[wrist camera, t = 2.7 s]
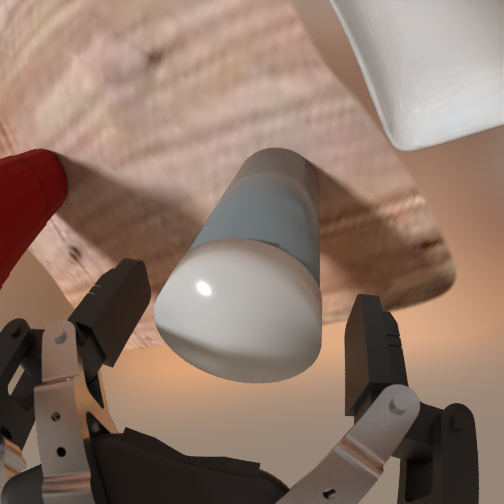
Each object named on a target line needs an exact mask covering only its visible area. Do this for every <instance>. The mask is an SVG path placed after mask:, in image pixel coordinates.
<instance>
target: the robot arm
mask: <svg viewBox="0 0 504 504" xmlns="http://www.w3.org/2000/svg"><path fill="white" fill-rule="evenodd" d="M150 298H151V289H150V285H149V281H148V276H147V272H146V267H145V264H144V262H143V261H141V260H135V259H129V258H124V259H123V260H122V261H121V262H120V263H119V264H118V266H117V267H116V268H115V269H113V268H112V269H111V270H109V271H108V272H106V273H105V274H103V275H102V276H101V277H100V278H99V280H98V281H97V282H96V283H95V286H93V287H92V288H91V290H90V291H89V294H88V293H87V295H86V296H85V297H84V299H83V300H82V301H81V302H80V304H79V305H78V306H77V308H76V309H75V310H74V312H73V313H72V314H71V316H70V317H69V318H68V320H60V321H56V322H54V323H52V324H50V325H49V326H48V327H47V328H46V330H43V329H31V328H30V327H29V325H28V323H27V322H26V321H25V320H24V319H21V318H19V319H14V320H12V321H10V322H9V323H8V324H7V325H6V326H5V327H4V328H3V330H2V331H1V333H0V501H1V504H358V503H359V502H360V500H361V499H362V498H363V497H364V496H365V495H366V493H367V492H368V491H369V490H370V489H371V488H372V486H373V485H374V484H375V483H376V481H377V480H378V479H379V477H380V476H381V474H382V472H383V466H384V465H385V463H386V461H387V460H388V459H389V457H390V456H393V457H396V458H400V478H399V489H398V500H397V504H478V501H479V471H478V451H477V439H476V429H475V421H474V417H473V414H472V412H471V411H470V410H469V409H468V408H467V407H466V406H465V405H463V404H459V403H454V404H451V405H449V406H448V407H446V408H445V409H444V410H442V409H439V408H436V407H433V406H429V405H426V404H424V403H422V402H420V401H419V399H418V397H417V395H416V393H415V392H414V391H413V390H412V389H410V388H409V386H408V382H407V374H406V368H405V362H404V356H403V350H402V348H401V346H402V344H401V339H400V338H399V336H400V334H399V330H398V324H397V322H396V320H395V319H394V317H393V316H392V314H391V313H390V312H385V311H382V308H381V303H380V298H379V297H378V296H373V295H364V294H358V295H357V297H356V300H355V303H354V305H353V308H352V311H351V313H350V316H349V319H348V321H347V324H346V329H345V416H354V426H353V427H352V428H351V429H350V430H349V431H348V433H347V434H346V435H345V436H344V437H343V438H342V439H341V440H340V441H339V442H338V443H337V445H336V446H335V447H334V448H333V449H332V450H331V451H330V452H329V453H328V454H327V455H326V456H325V457H324V458H323V459H322V460H321V461H320V462H319V463H318V464H317V465H316V466H315V467H314V468H313V469H312V470H311V471H310V472H308V473H307V474H306V475H305V476H304V477H303V478H302V479H301V480H300V481H299V482H297V483H296V484H295V485H294V486H293V487H292V488H291V489H289V488H288V487H287V486H286V485H285V484H284V483H283V482H282V481H281V480H279V479H278V478H276V477H275V476H273V475H271V474H269V473H268V472H266V471H263V470H261V469H259V467H260V463H256V462H250V461H244V460H238V459H233V458H228V457H196V456H186V455H183V454H182V453H180V452H178V451H176V450H175V449H173V448H171V447H169V446H168V445H166V444H165V443H163V442H161V441H160V440H158V439H156V438H154V437H151V436H149V435H146V434H143V433H140V432H137V431H134V430H132V429H129V428H127V427H126V428H125V430H124V432H123V433H118V431H117V428H116V426H115V424H114V422H113V420H112V418H111V416H110V413H109V410H108V405H107V400H106V396H105V391H104V387H103V381H102V375H101V372H100V370H99V369H100V368H101V366H102V364H104V365H107V366H110V367H113V366H114V364H115V362H116V361H117V359H118V357H119V355H120V353H121V351H122V350H123V348H124V346H125V344H126V343H127V341H128V339H129V337H130V336H131V334H132V332H133V330H134V329H135V327H136V325H137V323H138V322H139V320H140V318H141V317H142V315H143V313H144V312H145V310H146V308H147V306H148V305H149V302H150ZM19 365H21V366H22V368H23V369H24V372H23V374H22V376H21V378H20V379H19V381H18V383H17V385H16V387H15V389H14V390H13V392H12V394H11V395H9V393H8V384H9V382H10V380H11V379H12V377H13V375H14V373H15V372H16V370H17V368H18V366H19ZM35 420H36V430H37V439H38V447H39V453H40V459H41V464H40V465H38V466H35V467H33V468H31V469H29V470H27V471H24V472H22V473H21V470H24V469H25V468H26V461H25V459H24V458H23V457H22V450H23V447H24V445H25V442H26V440H27V438H28V435H29V433H30V431H31V429H32V426H33V424H34V422H35Z"/></svg>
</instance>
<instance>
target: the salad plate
mask: <svg viewBox="0 0 504 504" xmlns="http://www.w3.org/2000/svg"><path fill="white" fill-rule="evenodd" d="M328 1H329V2H330V4H331V6H332V7H333V9H334V11H335V13H336V15H337V17H338V19H339V21H340V23H341V25H342V27H343V29H344V31H345V33H346V35H347V38H348V40H349V42H350V44H351V47H352V49H353V51H354V54H355V56H356V59H357V61H358V64H359V66H360V69H361V71H362V74H363V76H364V79H365V82H366V85H367V87H368V90H369V92H370V95H371V97H372V100H373V102H374V105H375V107H376V110H377V113H378V115H379V118H380V121H381V123H382V126H383V128H384V130H385V133H386V135H387V137H388V139H389V141H390V142H391V143H392V145H393V146H394V147H395V148H396V149H397V150H399V151H416V150H421V149H425V148H429V147H433V146H436V145H440V144H444V143H447V142H451V141H454V140H457V139H460V138H463V137H467V136H470V135H473V134H476V133H479V132H483V131H486V130H489V129H492V128H495V127H499V126H502V125H504V0H328Z"/></svg>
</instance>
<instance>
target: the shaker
mask: <svg viewBox="0 0 504 504" xmlns="http://www.w3.org/2000/svg"><path fill="white" fill-rule="evenodd" d="M154 320H155V324H156V327H157V329H158V332H159V333H160V335H161V337H162V338H163V340H164V341H165V342H166V344H167V345H168V346H169V347H170V348H171V349H172V350H173V351H174V352H175V353H176V354H177V355H178V356H180V357H181V358H183V359H184V360H185V361H187V362H188V363H190V364H191V365H193V366H195V367H196V368H198V369H200V370H202V371H205V372H207V373H209V374H212V375H215V376H217V377H221V378H224V379H228V380H232V381H237V382H244V383H271V382H277V381H282V380H286V379H289V378H292V377H294V376H297V375H299V374H301V373H302V372H304V371H305V370H307V369H308V368H309V367H310V366H311V365H312V364H313V363H314V362H315V360H316V359H317V357H318V355H319V353H320V349H321V340H322V296H321V291H320V238H319V200H318V182H317V177H316V174H315V172H314V170H313V168H312V167H311V165H310V164H309V163H308V162H307V161H306V159H304V158H303V157H302V156H300V155H299V154H297V153H295V152H293V151H291V150H287V149H283V148H268V149H264V150H261V151H258V152H256V153H255V154H253V155H252V156H250V157H249V158H248V159H247V160H246V161H245V162H244V164H243V165H242V167H241V168H240V170H239V171H238V173H237V174H236V176H235V177H234V179H233V180H232V182H231V183H230V185H229V187H228V188H227V190H226V191H225V193H224V194H223V196H222V197H221V199H220V201H219V202H218V204H217V205H216V207H215V208H214V210H213V212H212V213H211V215H210V216H209V218H208V220H207V221H206V223H205V224H204V226H203V228H202V229H201V231H200V233H199V234H198V236H197V238H196V239H195V241H194V242H193V244H192V246H191V247H190V249H189V251H188V252H187V253H186V254H185V255H184V256H183V257H182V258H181V259H180V261H179V262H178V263H177V265H176V267H175V268H174V270H173V272H172V273H171V275H170V277H169V278H168V280H167V282H166V284H165V285H164V287H163V289H162V290H161V292H160V294H159V296H158V297H157V300H156V302H155V306H154Z"/></svg>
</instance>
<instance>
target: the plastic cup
mask: <svg viewBox="0 0 504 504" xmlns="http://www.w3.org/2000/svg"><path fill="white" fill-rule="evenodd" d="M67 191H68V189H67V178H66V175H65V172H64V169H63V166H62V165H61V163H60V162H59V160H58V159H57V157H56V156H55V155H54V154H52V153H51V152H50V151H49V150H45V149H34V150H30V151H27V152H24V153H21V154H18V155H15V156H8V157H5V158H2V159H0V289H1V288H2V285H3V283H4V282H5V281H6V279H7V278H8V276H9V275H10V272H11V270H12V269H13V267H14V266H15V265H16V263H17V262H18V261H19V259H20V258H21V256H22V255H23V254H24V252H25V251H26V250H27V248H28V247H29V246H30V245H31V243H32V242H33V241H34V239H35V238H36V237H37V236H38V234H39V233H40V232H41V231H42V229H43V228H44V227H45V226H46V223H47V222H48V220H49V219H50V218H51V217H52V216H53V215H54V213H55V212H56V211H57V210H58V209H59V208H60V207H61V205H62V203H63V202H64V200H65V198H66V195H67Z"/></svg>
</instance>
